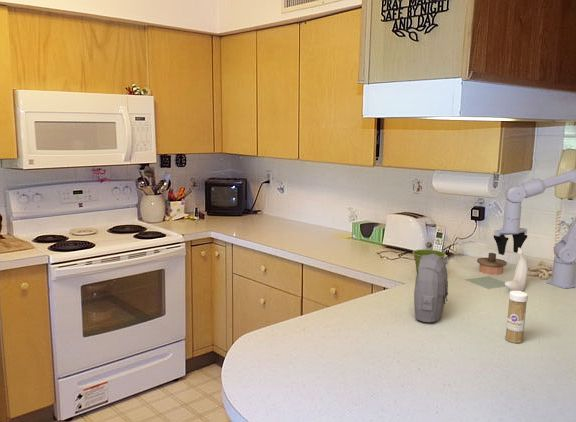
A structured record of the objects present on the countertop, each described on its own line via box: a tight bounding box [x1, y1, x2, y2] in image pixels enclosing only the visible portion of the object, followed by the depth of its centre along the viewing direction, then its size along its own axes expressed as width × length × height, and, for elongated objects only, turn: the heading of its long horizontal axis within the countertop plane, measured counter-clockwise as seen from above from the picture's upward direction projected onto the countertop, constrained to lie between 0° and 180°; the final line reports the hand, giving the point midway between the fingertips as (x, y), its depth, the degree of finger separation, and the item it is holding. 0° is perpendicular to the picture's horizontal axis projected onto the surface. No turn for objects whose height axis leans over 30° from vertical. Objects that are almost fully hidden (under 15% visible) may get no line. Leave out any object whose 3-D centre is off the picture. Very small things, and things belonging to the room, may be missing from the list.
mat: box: [464, 276, 506, 290], centre depth 191 cm, size 12×12×1 cm
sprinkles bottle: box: [504, 291, 529, 344], centre depth 138 cm, size 5×5×14 cm
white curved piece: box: [504, 247, 529, 292], centre depth 180 cm, size 5×19×15 cm, turn 146°
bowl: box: [479, 264, 504, 276], centre depth 205 cm, size 8×8×4 cm
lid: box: [476, 252, 508, 267], centre depth 204 cm, size 11×11×4 cm
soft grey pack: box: [413, 254, 449, 323], centre depth 152 cm, size 15×8×20 cm, turn 152°
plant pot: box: [412, 248, 447, 273], centre depth 190 cm, size 12×12×11 cm
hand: (508, 253), depth 194 cm, fingers open, 7 cm apart
